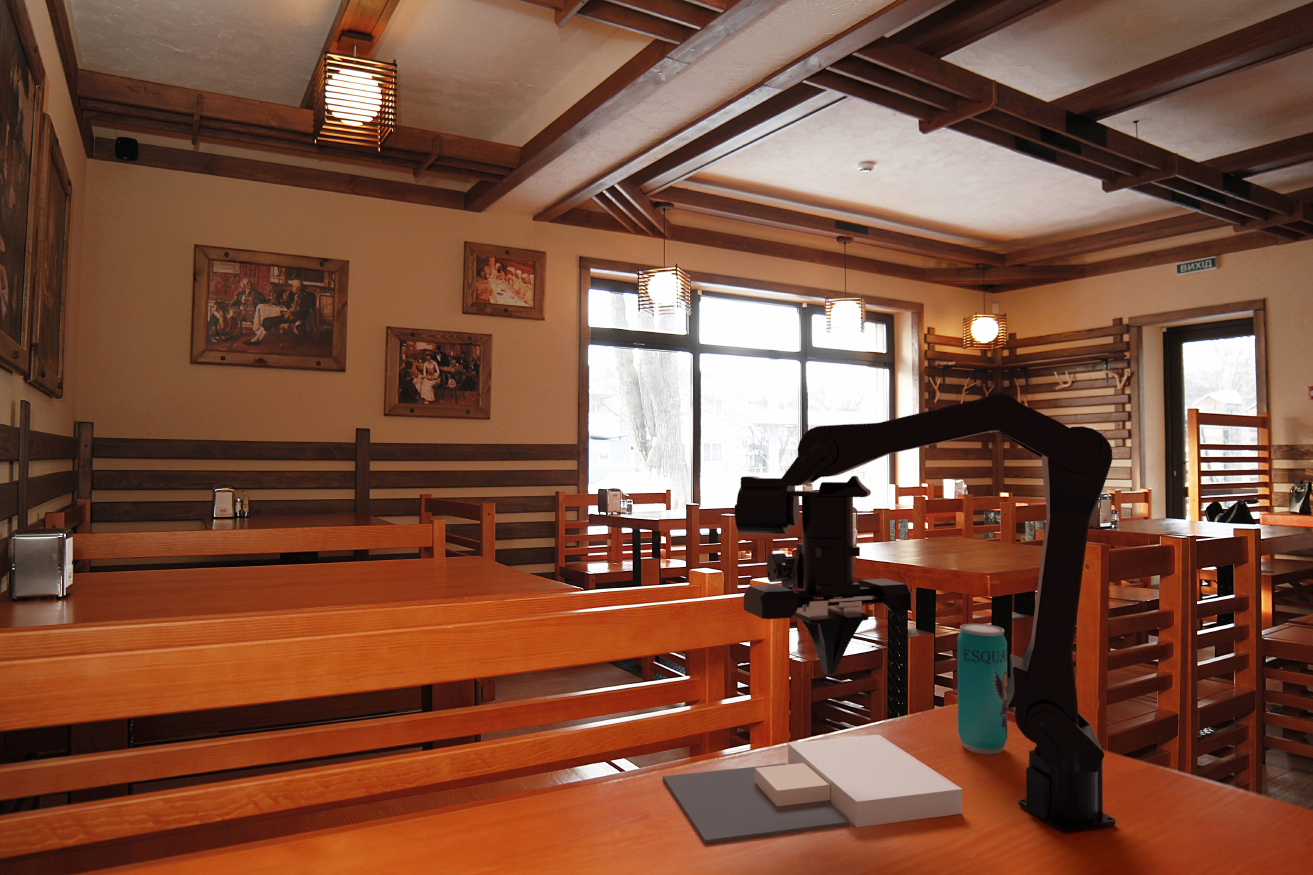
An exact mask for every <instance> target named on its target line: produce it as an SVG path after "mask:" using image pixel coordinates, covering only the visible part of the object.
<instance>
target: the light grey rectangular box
mask: <svg viewBox="0 0 1313 875" xmlns="http://www.w3.org/2000/svg"><path fill="white" fill-rule="evenodd" d="M787 745H788V746H787V747H788V748H787V765H788V764H798V763H806V764H807V765H808V766H809V767H810V768H812V769H813V770H814V771H815V772H816V773H817V774H818V775H820V776H821V777H822V778H823V779H824V780H825V781H826V782H828V783H829V784H830V800H827V801H828V802H829V803H830V804H831V805H832V806H833V807H834V808H835V809H836V810H837V811H839V812H840V813H841V814H842V815H843V816H844V817H845V818H846V819H847V820H848V821H849V822H850V823H851V824H852V825H854V827H856V828H861V827H869V826H870V827H871V826H877V825H885V824H893V823H894V824H895V823H900V822H901V823H902V822H908V821H916V820H925V819H930V818H931V819H932V818H940V817H946V816H947V817H948V816H953V815H961V814H963V788H961V787H960V786H958V785H957V784H955V783H954V782H952V781H950V779H947V778H946V777H944V776H943V775H941V774H940V773H938V772H937V771H935V770H933V769H932V768H930V767H929V766H927V765H926V764H924V763H923V762H921V761H920V760H919V759H916V758H915V757H914V756H913V755H911V754H909V753H908V752H906V751H905V750H903V749H901V747H898V746H897V745H895V744H894V743H892V742H891V741H890V740H888V739H886V738H884V737H883V736H881V735H880V734H871V735H863V736H862V735H861V736H851V737H841V738H830V739H820V740H811V741H810V740H809V741H801V742H798V741H797V742H791V743H790V742H788V743H787Z"/></svg>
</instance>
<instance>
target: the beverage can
mask: <svg viewBox="0 0 1313 875" xmlns="http://www.w3.org/2000/svg"><path fill="white" fill-rule="evenodd" d="M959 628H960V632H959V634H958V636H957V732H958V735H959V738H960V742H961V744H962V746H963V747H964V748H965V749H966V750H967V751H970V752H972V753H976V754H980V755H990V756H991V755H997V754H1000V753H1002V752H1003V750H1004V748H1005V744H1006V743H1007V740H1008V703H1007V697H1006V691H1005V687H1006V686H1007V684H1008V641H1007V640H1006V637H1005V634H1004V633H1005V629H1004V628H1003V627H1001V626H996V625H991V624H986V623H964V624H962V625H960V626H959Z"/></svg>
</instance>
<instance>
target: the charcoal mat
mask: <svg viewBox="0 0 1313 875" xmlns="http://www.w3.org/2000/svg"><path fill="white" fill-rule="evenodd" d="M779 765H788V763H776V764H767V765H766V764H765V765H757V766H748V767H747V766H746V767H739V768H737V767H736V768H729V769H720V770H711V771H700V772H691V773H681V774H671V775H663V776H662V781H663V782H664V784H665V785H666V787H667V789H668V790H669V791H670V793H671V795H672V796H673V797H674V799H675V800H676V802H677V804H678V805H679V807H680V808H681V810H682V811H683V813H684V814H685V816H686V817H687V819H688V820H689V822H690V823H691V825H692V826H693V828H694V829H695V831H696V832H697V834H698V836H699V837H700V838H701V840H702V842H703V843H704V845H711V844H718V843H720V844H721V843H726V842H734V841H735V842H736V841H743V840H748V839H758V838H765V837H774V836H781V835H786V834H787V835H789V834H797V833H804V832H811V831H820V830H826V829H827V830H828V829H834V828H841V827H849V826H850V823H851V822H850V821H849V820H848V819H847V818H846V817H845V816H844V815H843V814H841V813H840V812H839V811H838V810H837V809H836V808H835V807H834V806H833V805H832V804H830V803H829V802H828V801H827V800H826V801H817V802H809V803H801V804H792V805H784V806H776V805H775V803H774V802H773V801H772V800H771V799H770V798H769V797H768V796H767V795H766V794H765V793H764V792H763V791H762V789H761V788H760V787H759V786H758V785H757V784H756V783H755V768H759V767H769V766H779Z"/></svg>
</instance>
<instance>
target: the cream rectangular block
mask: <svg viewBox="0 0 1313 875" xmlns="http://www.w3.org/2000/svg"><path fill="white" fill-rule="evenodd" d="M755 783H756V784H757V785H758V786H759V787H760V788H761V789H762V791H763V792H764V793H765V794H766V795H767V796H768V797H769V798H770V799H771V800H772V801H773V802H774V803H775V805H776V806H784V805H792V804H801V803H809V802H817V801H826V800H830V784H829V783H828V782H826V781H825V780H824V779H823V778H822V777H821V776H820V775H818V774H817V773H816V772H815V771H814V770H813V769H812V768H810V767H809V766H808V765H807V764H806V763H798V764H788V763H787V765H779V766H769V767H759V768H755Z"/></svg>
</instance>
